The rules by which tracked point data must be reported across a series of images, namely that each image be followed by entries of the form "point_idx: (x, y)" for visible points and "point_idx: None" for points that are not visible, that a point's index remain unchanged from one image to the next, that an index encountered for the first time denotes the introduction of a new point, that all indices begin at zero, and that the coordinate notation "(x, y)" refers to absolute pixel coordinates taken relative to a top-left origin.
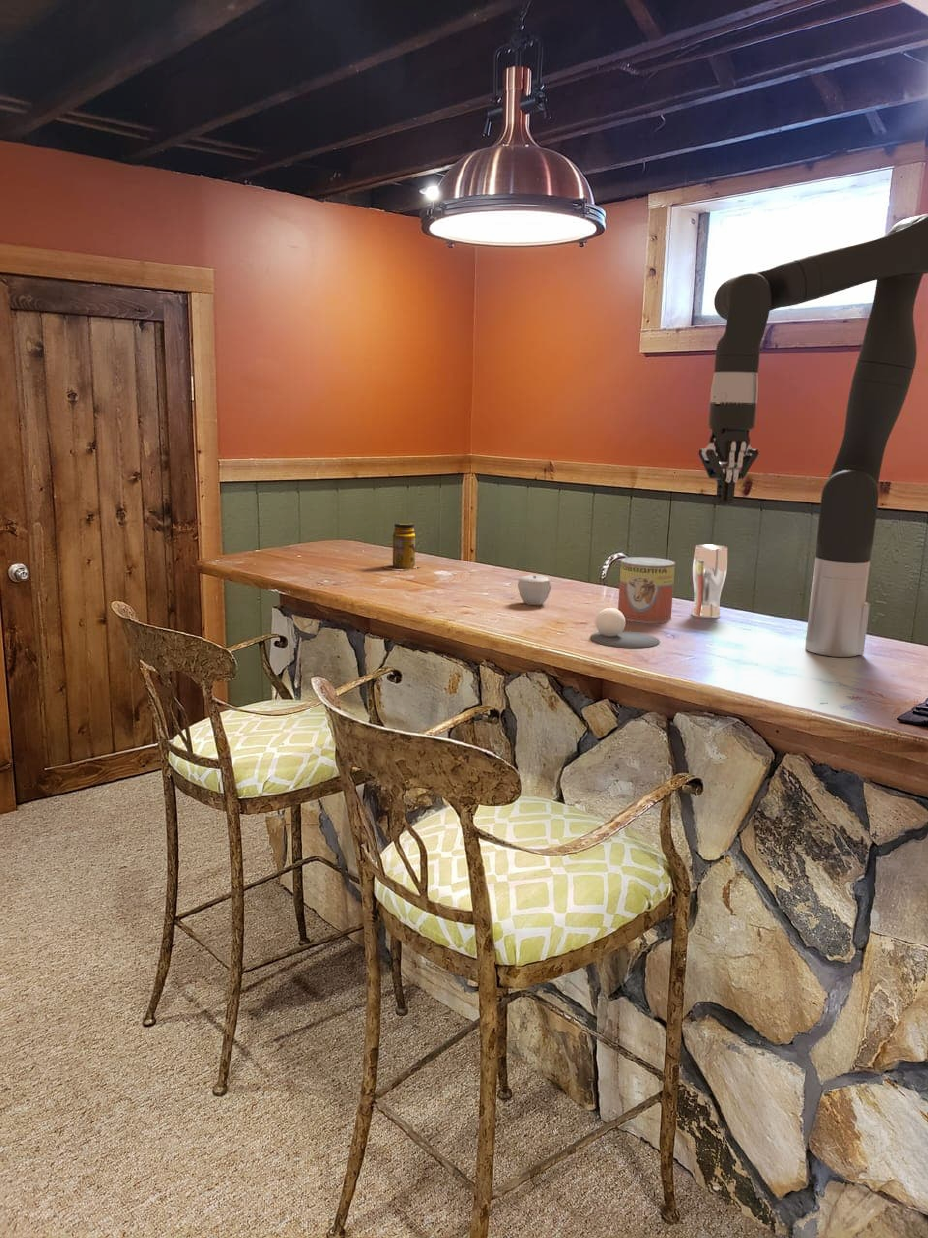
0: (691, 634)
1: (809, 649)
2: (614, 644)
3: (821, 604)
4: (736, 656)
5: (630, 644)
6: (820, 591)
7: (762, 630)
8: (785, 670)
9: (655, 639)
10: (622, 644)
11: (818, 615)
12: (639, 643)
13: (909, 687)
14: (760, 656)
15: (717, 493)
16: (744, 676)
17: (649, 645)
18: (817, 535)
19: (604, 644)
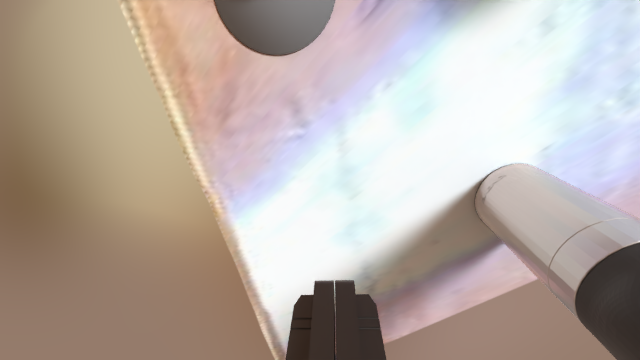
0: (419, 9)
1: (480, 187)
2: (231, 16)
3: (515, 235)
4: (364, 156)
5: (257, 29)
6: (530, 243)
7: (565, 46)
8: (364, 228)
9: (322, 18)
10: (244, 23)
11: (504, 222)
12: (276, 30)
13: (425, 319)
14: (395, 170)
15: (291, 327)
16: (297, 224)
17: (283, 50)
18: (632, 312)
19: (216, 5)
